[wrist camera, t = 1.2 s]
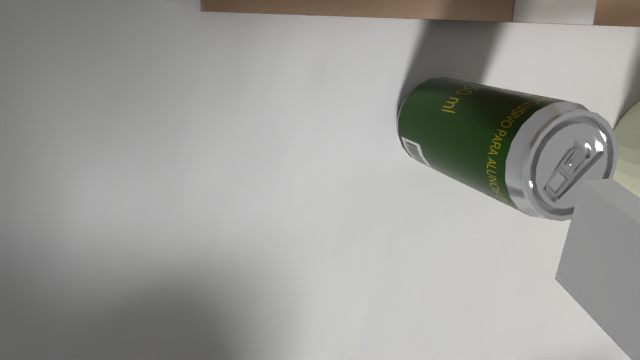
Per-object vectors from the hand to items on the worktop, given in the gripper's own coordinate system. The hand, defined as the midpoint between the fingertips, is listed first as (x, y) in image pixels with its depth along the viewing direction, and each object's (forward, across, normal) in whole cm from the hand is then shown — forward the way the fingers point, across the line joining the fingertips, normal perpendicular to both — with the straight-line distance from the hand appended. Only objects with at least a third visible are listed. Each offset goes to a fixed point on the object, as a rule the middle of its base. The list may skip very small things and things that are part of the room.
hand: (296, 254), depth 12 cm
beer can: (+21, -12, +5) cm, 25 cm away
